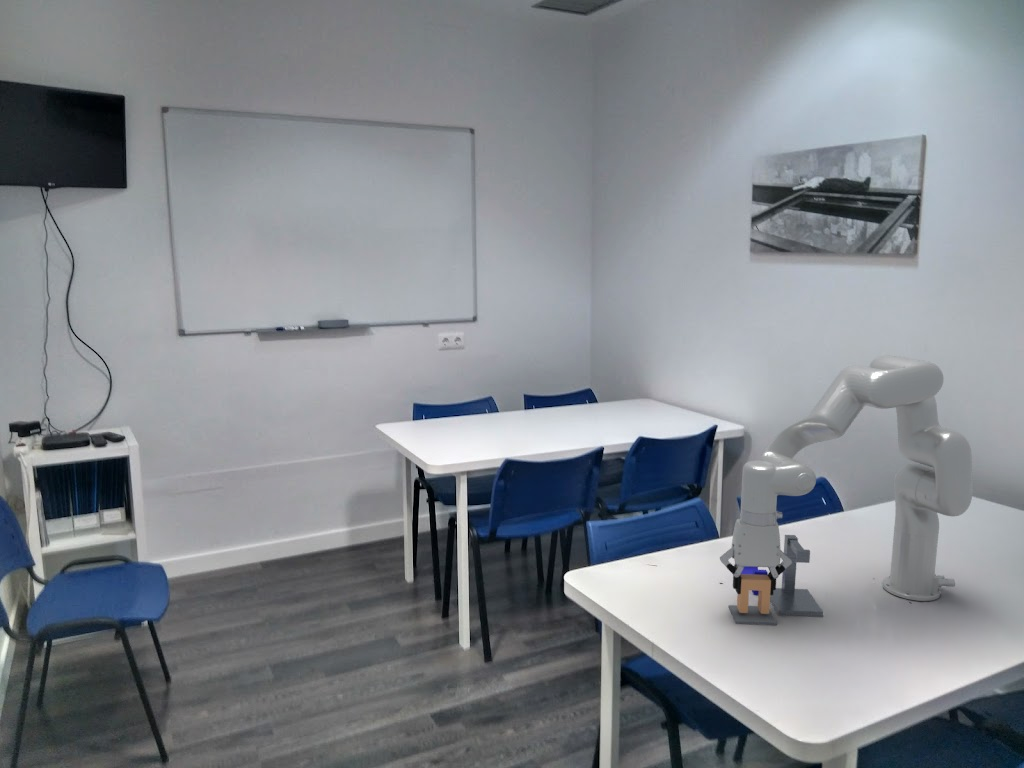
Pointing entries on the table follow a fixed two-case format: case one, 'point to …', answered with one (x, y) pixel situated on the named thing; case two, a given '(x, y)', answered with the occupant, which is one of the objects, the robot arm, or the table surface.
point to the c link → (754, 583)
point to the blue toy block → (756, 572)
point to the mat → (752, 616)
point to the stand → (789, 597)
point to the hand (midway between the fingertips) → (753, 591)
